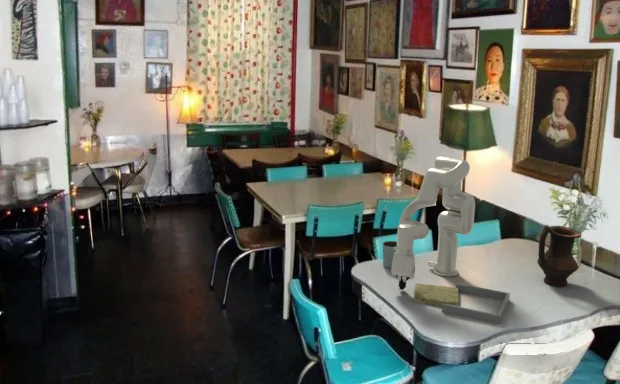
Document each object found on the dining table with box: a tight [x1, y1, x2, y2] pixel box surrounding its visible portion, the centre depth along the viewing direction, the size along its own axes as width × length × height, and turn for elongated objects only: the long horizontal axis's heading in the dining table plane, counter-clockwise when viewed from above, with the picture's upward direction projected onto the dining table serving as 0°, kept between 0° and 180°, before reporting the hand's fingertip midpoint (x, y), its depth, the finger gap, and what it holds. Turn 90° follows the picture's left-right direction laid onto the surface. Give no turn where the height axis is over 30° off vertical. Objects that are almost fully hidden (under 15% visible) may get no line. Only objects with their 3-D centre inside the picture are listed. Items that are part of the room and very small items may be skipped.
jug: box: [536, 224, 582, 288], centre depth 296 cm, size 21×18×30 cm
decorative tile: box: [413, 283, 460, 308], centre depth 279 cm, size 19×20×4 cm
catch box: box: [441, 282, 511, 325], centre depth 271 cm, size 24×27×4 cm
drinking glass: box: [382, 240, 397, 270], centre depth 316 cm, size 10×10×12 cm
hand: (402, 288), depth 285 cm, fingers closed
